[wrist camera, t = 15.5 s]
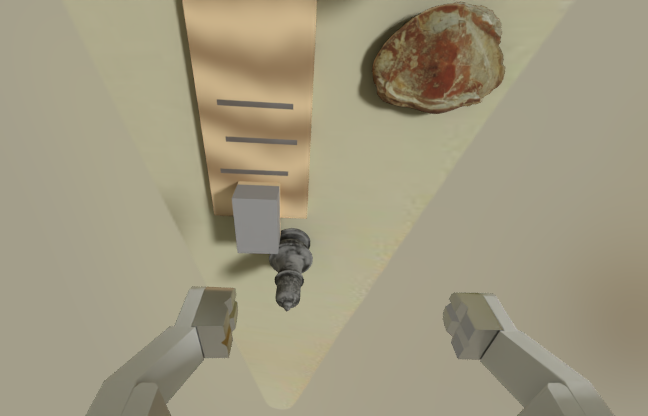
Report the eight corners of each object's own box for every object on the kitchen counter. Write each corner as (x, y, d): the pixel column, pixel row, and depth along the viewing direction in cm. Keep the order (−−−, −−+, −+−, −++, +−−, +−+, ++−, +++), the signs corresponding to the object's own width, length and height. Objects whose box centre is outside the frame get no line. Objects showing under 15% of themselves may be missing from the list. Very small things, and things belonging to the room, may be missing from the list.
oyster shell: (502, -14, 29) (521, -17, 27) (496, 93, 35) (511, 100, 32) (363, 24, 31) (368, 25, 28) (377, 122, 36) (383, 130, 33)
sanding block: (238, 181, 38) (231, 198, 34) (280, 182, 38) (277, 200, 35) (243, 233, 42) (237, 252, 39) (280, 234, 42) (278, 253, 39)
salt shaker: (273, 224, 43) (262, 290, 33) (315, 229, 44) (317, 296, 34) (270, 255, 46) (258, 325, 36) (309, 260, 47) (308, 329, 37)
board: (183, -23, 28) (178, -24, 27) (317, -12, 28) (317, -12, 27) (216, 210, 41) (214, 215, 40) (306, 213, 42) (306, 218, 41)
